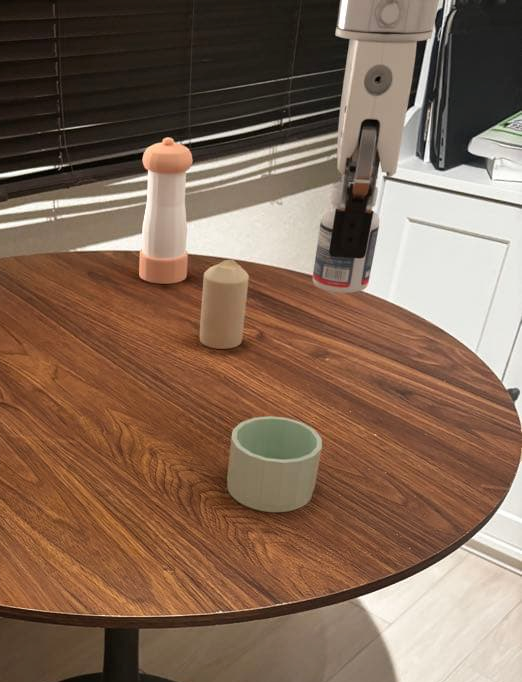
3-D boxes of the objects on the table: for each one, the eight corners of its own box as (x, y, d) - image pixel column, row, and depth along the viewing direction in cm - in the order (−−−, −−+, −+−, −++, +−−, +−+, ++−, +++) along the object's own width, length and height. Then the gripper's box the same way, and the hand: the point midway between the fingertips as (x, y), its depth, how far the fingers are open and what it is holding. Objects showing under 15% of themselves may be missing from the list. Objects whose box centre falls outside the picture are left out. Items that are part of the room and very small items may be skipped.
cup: (313, 469, 80) (322, 421, 77) (312, 517, 74) (322, 466, 71) (230, 460, 82) (235, 412, 78) (222, 506, 75) (228, 456, 72)
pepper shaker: (143, 265, 127) (146, 131, 115) (189, 269, 126) (197, 133, 114) (135, 282, 121) (137, 142, 109) (183, 285, 120) (191, 145, 108)
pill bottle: (348, 272, 81) (365, 177, 75) (378, 290, 77) (398, 191, 71) (301, 278, 79) (315, 182, 74) (329, 297, 75) (346, 197, 70)
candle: (209, 328, 108) (215, 253, 101) (248, 337, 106) (256, 260, 99) (192, 344, 104) (197, 266, 98) (232, 352, 102) (240, 274, 96)
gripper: (445, 28, 57) (391, 281, 68) (427, 7, 70) (384, 221, 82) (337, 25, 59) (301, 274, 70) (338, 5, 72) (308, 216, 83)
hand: (346, 243), depth 75 cm, fingers closed on pill bottle, 5 cm apart
